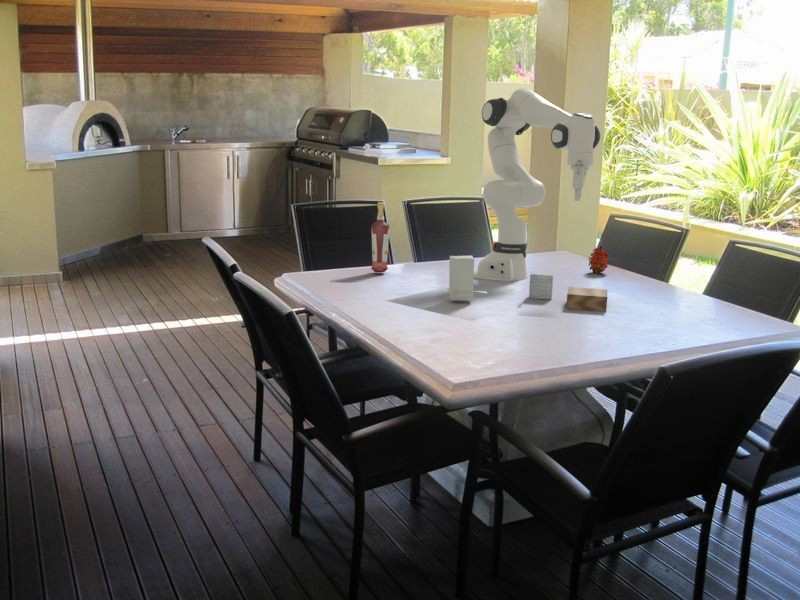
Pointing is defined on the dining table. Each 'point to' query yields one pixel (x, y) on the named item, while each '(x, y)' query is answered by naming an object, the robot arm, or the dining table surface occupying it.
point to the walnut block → (587, 299)
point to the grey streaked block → (541, 286)
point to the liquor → (380, 241)
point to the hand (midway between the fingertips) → (577, 199)
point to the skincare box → (461, 278)
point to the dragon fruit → (598, 260)
